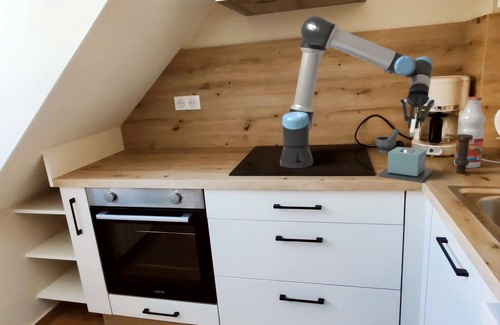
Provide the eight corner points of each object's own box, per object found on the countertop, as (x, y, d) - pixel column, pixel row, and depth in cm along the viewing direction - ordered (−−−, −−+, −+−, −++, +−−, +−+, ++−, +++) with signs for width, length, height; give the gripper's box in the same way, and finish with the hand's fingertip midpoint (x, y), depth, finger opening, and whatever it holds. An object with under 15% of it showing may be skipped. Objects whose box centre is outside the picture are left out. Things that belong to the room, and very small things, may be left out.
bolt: (454, 170, 138) (458, 133, 134) (469, 172, 135) (473, 134, 131) (451, 174, 134) (455, 136, 130) (466, 176, 131) (471, 137, 127)
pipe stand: (378, 176, 136) (379, 151, 134) (392, 166, 148) (393, 143, 145) (422, 182, 126) (424, 156, 124) (433, 171, 138) (435, 147, 135)
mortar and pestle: (373, 153, 172) (374, 129, 169) (376, 149, 180) (377, 126, 177) (397, 154, 167) (399, 130, 164) (399, 150, 175) (401, 127, 172)
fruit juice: (480, 163, 145) (488, 96, 138) (480, 169, 138) (488, 98, 131) (454, 161, 150) (460, 96, 143) (452, 167, 143) (459, 98, 136)
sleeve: (387, 172, 136) (388, 152, 134) (396, 165, 144) (397, 146, 142) (417, 176, 129) (418, 155, 127) (425, 169, 137) (426, 149, 135)
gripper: (436, 94, 145) (430, 140, 136) (402, 94, 152) (394, 138, 142) (437, 81, 139) (430, 129, 130) (402, 82, 146) (393, 128, 136)
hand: (411, 134), depth 136 cm, fingers closed
